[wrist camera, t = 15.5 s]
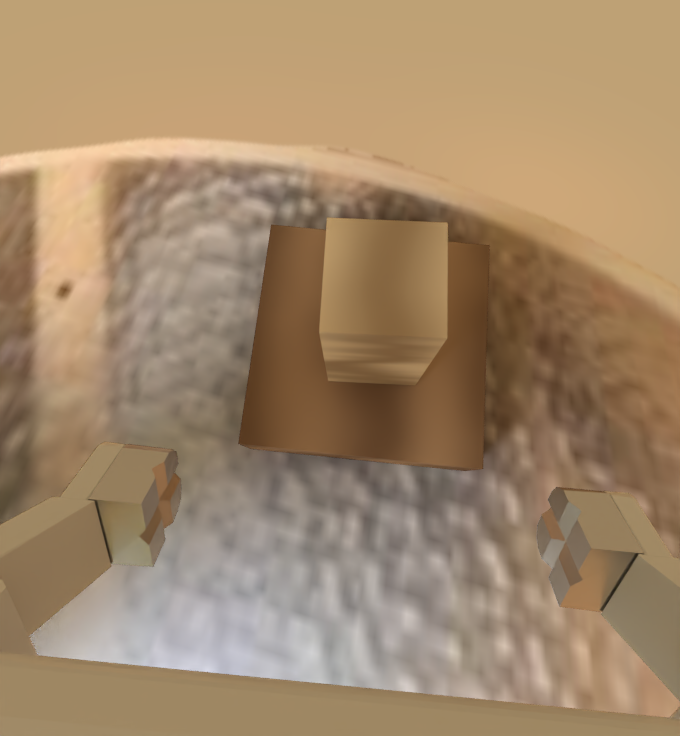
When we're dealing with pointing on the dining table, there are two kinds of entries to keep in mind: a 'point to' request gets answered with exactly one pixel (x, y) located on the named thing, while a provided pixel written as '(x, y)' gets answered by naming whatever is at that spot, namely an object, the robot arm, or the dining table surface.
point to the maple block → (383, 299)
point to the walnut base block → (364, 400)
